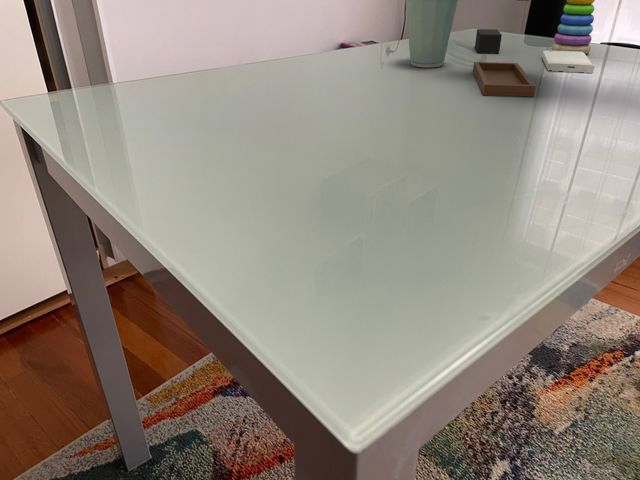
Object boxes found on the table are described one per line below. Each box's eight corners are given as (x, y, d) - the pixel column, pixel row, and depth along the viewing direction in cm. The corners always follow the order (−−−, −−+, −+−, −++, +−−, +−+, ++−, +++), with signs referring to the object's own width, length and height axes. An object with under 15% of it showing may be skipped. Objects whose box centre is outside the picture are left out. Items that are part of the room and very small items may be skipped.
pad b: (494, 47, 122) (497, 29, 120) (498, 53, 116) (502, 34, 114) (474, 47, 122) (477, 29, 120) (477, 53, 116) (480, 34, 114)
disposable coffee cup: (441, 73, 101) (450, -14, 93) (390, 66, 106) (395, -16, 98) (459, 62, 109) (469, -19, 101) (411, 56, 113) (417, -21, 106)
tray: (515, 72, 101) (517, 63, 100) (533, 97, 86) (535, 86, 85) (472, 71, 102) (474, 61, 101) (482, 95, 87) (484, 84, 86)
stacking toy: (594, 52, 117) (618, -44, 107) (581, 57, 112) (605, -42, 102) (559, 47, 121) (579, -45, 112) (544, 52, 116) (564, -43, 107)
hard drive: (542, 50, 111) (549, 62, 101) (584, 51, 110) (595, 64, 99) (541, 58, 112) (547, 71, 102) (582, 59, 110) (592, 73, 100)
